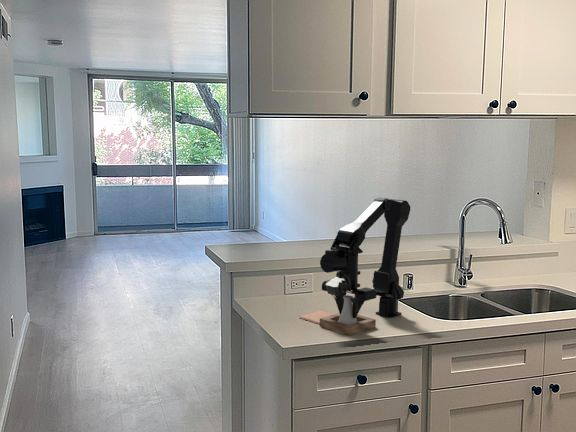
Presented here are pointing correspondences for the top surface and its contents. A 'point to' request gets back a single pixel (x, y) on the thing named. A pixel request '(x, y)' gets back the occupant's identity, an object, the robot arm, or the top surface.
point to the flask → (347, 311)
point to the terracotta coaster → (315, 316)
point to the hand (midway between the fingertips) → (347, 316)
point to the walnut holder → (351, 329)
